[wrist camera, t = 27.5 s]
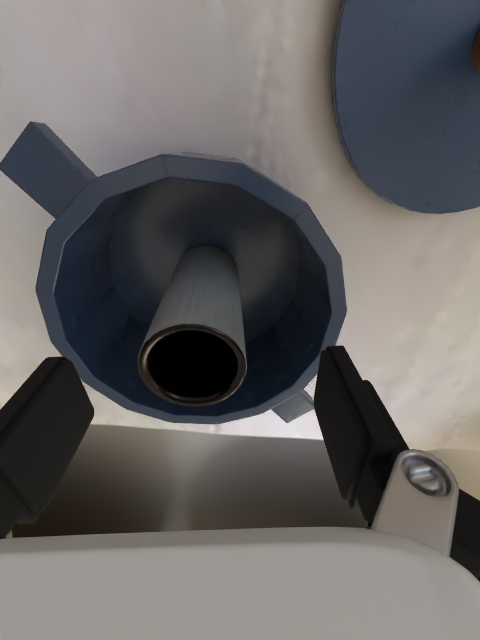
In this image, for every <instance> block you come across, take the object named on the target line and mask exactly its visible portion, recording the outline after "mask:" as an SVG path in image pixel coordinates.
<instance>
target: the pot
mask: <svg viewBox="0 0 480 640" xmlns="http://www.w3.org/2000/svg"><path fill="white" fill-rule="evenodd" d="M0 170H1V171H2V172H3V173H4V174H5V175H7V176H8V177H9V178H10V179H11V180H12V181H13V182H14V183H16V184H17V185H18V186H19V187H20V188H21V189H22V190H24V191H25V192H26V193H27V194H28V195H29V196H30V197H31V198H33V199H34V200H35V201H36V202H37V203H38V204H39V205H40V206H42V207H43V208H44V209H45V210H46V211H47V212H48V213H50V214H51V215H52V216H53V217H54V218H55V219H56V220H55V221H54V222H53V223H52V224H51V225H50V227H49V228H48V229H47V232H46V236H45V241H44V247H43V252H42V257H41V262H40V267H39V273H38V278H37V283H36V294H37V297H38V300H39V304H40V307H41V310H42V314H43V317H44V320H45V324H46V327H47V330H48V334H49V337H50V340H51V343H52V344H53V345H54V346H55V348H56V349H57V350H58V351H59V353H60V354H61V355H62V356H63V357H66V358H67V359H68V360H70V361H72V363H73V365H74V367H75V369H76V371H77V373H78V375H79V377H80V378H81V380H82V381H83V382H85V383H86V384H87V385H89V386H91V387H92V388H94V389H95V390H97V391H98V392H100V393H101V394H103V395H105V396H106V397H108V398H109V399H111V400H112V401H114V402H116V403H117V404H119V405H120V406H122V407H123V408H125V409H127V410H131V411H134V412H137V413H141V414H144V415H147V416H151V417H154V418H157V419H161V420H164V421H167V422H172V423H194V424H221V423H225V422H230V421H234V420H238V419H242V418H247V417H251V416H255V415H260V414H261V413H264V412H266V411H268V410H270V409H272V410H273V411H274V412H275V413H276V414H277V415H278V416H279V417H281V418H282V419H283V420H284V421H285V422H286V423H288V422H290V421H292V420H294V419H296V418H298V417H300V416H301V415H303V414H305V413H307V412H309V411H311V410H313V409H314V402H313V399H312V397H311V396H310V395H309V394H308V393H307V392H306V391H305V390H304V388H305V387H306V386H307V385H308V383H309V382H310V381H311V380H312V379H313V378H314V377H315V376H316V374H317V373H318V368H319V361H320V355H321V351H322V350H326V347H327V346H335V345H336V342H337V339H338V336H339V333H340V330H341V328H342V325H343V322H344V319H345V316H346V312H347V306H346V297H345V287H344V278H343V269H342V259H341V256H340V254H339V253H338V251H337V250H336V248H335V246H334V245H333V243H332V242H331V240H330V239H329V237H328V235H327V234H326V232H325V231H324V229H323V228H322V226H321V224H320V223H319V221H318V220H317V218H316V216H315V215H314V213H313V212H312V210H311V209H310V207H309V205H308V204H307V203H306V202H305V201H303V200H302V199H300V198H299V197H297V196H295V195H294V194H292V193H291V192H289V191H288V190H286V189H285V188H283V187H282V186H280V185H279V184H277V183H276V182H274V181H272V180H271V179H269V178H268V177H266V176H264V175H263V174H261V173H260V172H258V171H256V170H255V169H253V168H252V167H250V166H248V165H247V164H245V163H244V162H242V161H240V160H239V159H236V158H229V157H221V156H213V155H204V154H196V153H172V154H161V155H158V156H155V157H152V158H150V159H147V160H144V161H141V162H138V163H136V164H133V165H130V166H127V167H124V168H122V169H119V170H116V171H113V172H110V173H107V174H105V175H102V176H99V177H97V176H96V175H95V174H94V173H93V172H92V171H91V170H90V169H89V168H88V167H87V166H86V165H85V164H84V163H83V162H82V161H81V160H80V159H79V158H78V157H77V156H76V155H75V154H74V153H73V152H72V151H71V150H70V149H69V148H68V147H67V146H66V145H65V144H64V143H63V142H62V140H61V139H60V138H59V137H58V136H57V135H56V134H55V133H54V132H53V131H52V130H51V129H50V128H49V127H48V126H47V125H46V124H44V123H38V122H32V121H31V122H29V124H28V125H27V127H26V128H25V129H24V131H23V132H22V134H21V135H20V136H19V138H18V139H17V140H16V142H15V143H14V145H13V146H12V147H11V149H10V150H9V152H8V153H7V154H6V156H5V157H4V159H3V160H2V161H1V163H0ZM198 246H213V247H217V248H219V249H221V250H223V251H224V252H226V253H227V254H228V255H229V256H230V257H231V258H232V259H233V261H234V263H235V265H236V268H237V272H238V278H239V288H240V299H241V309H242V319H243V330H244V340H245V350H246V362H247V370H246V375H245V378H244V380H243V382H242V384H241V385H240V387H239V388H238V389H237V390H236V391H235V392H234V393H233V394H232V395H231V396H229V397H228V398H226V399H224V400H222V401H220V402H217V403H214V404H211V405H206V406H184V405H179V404H175V403H172V402H169V401H167V400H165V399H163V398H161V397H159V396H158V395H156V394H155V393H154V392H152V391H151V390H150V389H149V388H148V387H147V385H146V384H145V383H144V381H143V379H142V378H141V375H140V373H139V369H138V355H139V352H140V349H141V347H142V344H143V342H144V340H145V337H146V335H147V333H148V330H149V328H150V326H151V323H152V321H153V319H154V316H155V314H156V312H157V309H158V307H159V305H160V302H161V300H162V298H163V295H164V293H165V291H166V288H167V286H168V284H169V281H170V279H171V277H172V274H173V272H174V270H175V267H176V265H177V263H178V261H179V260H180V258H181V257H182V256H183V255H184V254H185V253H186V252H187V251H189V250H190V249H192V248H195V247H198Z"/></svg>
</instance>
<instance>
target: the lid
mask: <svg viewBox="0 0 480 640" xmlns="http://www.w3.org/2000/svg"><path fill="white" fill-rule="evenodd" d="M331 77H332V101H333V108H334V114H335V121H336V126H337V129H338V133H339V137H340V140H341V144H342V146H343V148H344V151H345V153H346V155H347V158H348V160H349V162H350V163H351V165H352V167H353V168H354V170H355V171H356V173H357V175H358V176H359V177H360V178H361V179H362V181H363V182H364V183H365V184H366V185H367V186H368V187H369V188H370V189H371V190H372V191H373V192H375V193H376V194H377V195H378V196H379V197H381V198H383V199H384V200H386V201H388V202H390V203H391V204H394V205H396V206H399V207H402V208H405V209H407V210H411V211H416V212H421V213H433V214H443V213H453V212H459V211H464V210H468V209H472V208H476V207H479V206H480V0H343V1H342V5H341V9H340V13H339V17H338V21H337V28H336V34H335V41H334V47H333V60H332V76H331Z"/></svg>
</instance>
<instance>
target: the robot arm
mask: <svg viewBox="0 0 480 640" xmlns="http://www.w3.org/2000/svg"><path fill="white" fill-rule="evenodd" d="M314 409H315V413H316V416H317V419H318V422H319V426H320V429H321V432H322V435H323V439H324V442H325V445H326V448H327V451H328V455H329V458H330V461H331V464H332V468H333V471H334V474H335V478H336V481H337V484H338V487H339V490H340V493H341V496H342V498H343V500H348V502H349V505H350V508H351V510H352V511H353V510H361V512H362V514H363V517H364V519H365V520H366V521H367V522H368V524H367V527H366V529H362V528H346V527H298V528H259V529H229V530H199V531H173V532H148V533H147V532H146V533H121V534H97V535H75V536H51V537H28V538H13V536H12V528H13V526H14V525H15V523H16V522H17V523H18V524H19V523H20V524H22V523H35V522H36V521H37V519H38V517H39V515H40V513H41V512H42V511H44V510H45V509H46V508H47V506H48V504H49V503H50V501H51V499H52V497H53V495H54V493H55V491H56V489H57V487H58V485H59V483H60V481H61V479H62V477H63V475H64V474H65V472H66V470H67V468H68V466H69V464H70V462H71V460H72V458H73V456H74V454H75V452H76V450H77V448H78V446H79V444H80V442H81V440H82V438H83V437H84V434H85V433H86V430H87V429H88V427H89V425H90V423H91V421H92V419H93V416H94V408H93V406H92V404H91V401H90V399H89V397H88V395H87V393H86V391H85V388H84V386H83V384H82V382H81V380H80V378H79V375H78V373H77V371H76V369H75V367H74V365H73V363H72V361H70V360H68V359H67V358H66V357H48V358H46V359H45V360H44V361H43V362H42V363H41V364H40V365H39V366H38V368H37V369H36V370H35V371H34V372H33V373H32V374H31V375H30V377H29V378H28V379H27V380H26V381H25V382H24V383H23V385H22V386H21V387H20V388H19V389H18V390H17V391H16V393H15V394H14V395H13V396H12V397H11V398H10V399H9V401H8V402H7V403H6V404H5V405H4V406H3V407H2V408H1V410H0V640H480V501H479V500H478V499H475V498H474V497H472V496H471V495H469V494H467V493H466V492H464V491H462V490H461V489H459V487H458V482H457V480H456V478H455V476H454V474H453V473H452V472H451V470H450V469H449V467H448V466H447V465H445V464H444V463H443V462H442V461H441V460H440V459H438V458H436V457H435V456H433V455H432V454H429V453H427V452H424V451H422V450H415V449H409V448H408V446H407V444H406V443H405V441H404V439H403V437H402V436H401V434H400V432H399V430H398V429H397V427H396V425H395V423H394V422H393V420H392V418H391V417H390V415H389V413H388V411H387V410H386V408H385V406H384V404H383V403H382V401H381V399H380V398H379V396H378V394H377V392H376V391H375V389H374V387H373V385H372V384H371V383H370V382H369V381H368V380H362V378H361V377H360V375H359V373H358V371H357V369H356V368H355V366H354V364H353V362H352V360H351V358H350V357H349V355H348V353H347V351H346V349H345V348H344V346H327V347H326V350H322V351H321V355H320V361H319V368H318V374H317V381H316V387H315V394H314Z"/></svg>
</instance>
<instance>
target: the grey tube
mask: <svg viewBox="0 0 480 640" xmlns="http://www.w3.org/2000/svg"><path fill="white" fill-rule="evenodd" d="M138 369H139V373H140V375H141V378H142V379H143V381H144V383H145V384H146V385H147V387H148V388H149V389H150V390H151V391H152V392H154V393H155V394H156V395H158V396H159V397H161V398H163V399H165V400H167V401H169V402H172V403H175V404H179V405H184V406H206V405H211V404H214V403H217V402H220V401H222V400H224V399H226V398H228V397H229V396H231V395H232V394H233V393H234V392H235V391H236V390H237V389H238V388H239V387H240V385H241V384H242V382H243V380H244V378H245V375H246V370H247V362H246V350H245V340H244V330H243V319H242V309H241V299H240V288H239V278H238V272H237V268H236V265H235V263H234V261H233V259H232V258H231V257H230V256H229V255H228V254H227V253H226V252H224V251H223V250H221V249H219V248H217V247H213V246H198V247H195V248H192V249H190V250H189V251H187V252H186V253H185V254H184V255H183V256H182V257H181V258H180V260H179V261H178V263H177V265H176V267H175V270H174V272H173V274H172V277H171V279H170V281H169V284H168V286H167V288H166V291H165V293H164V295H163V298H162V300H161V302H160V305H159V307H158V309H157V312H156V314H155V316H154V319H153V321H152V323H151V326H150V328H149V330H148V333H147V335H146V337H145V340H144V342H143V344H142V347H141V349H140V352H139V355H138Z"/></svg>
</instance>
